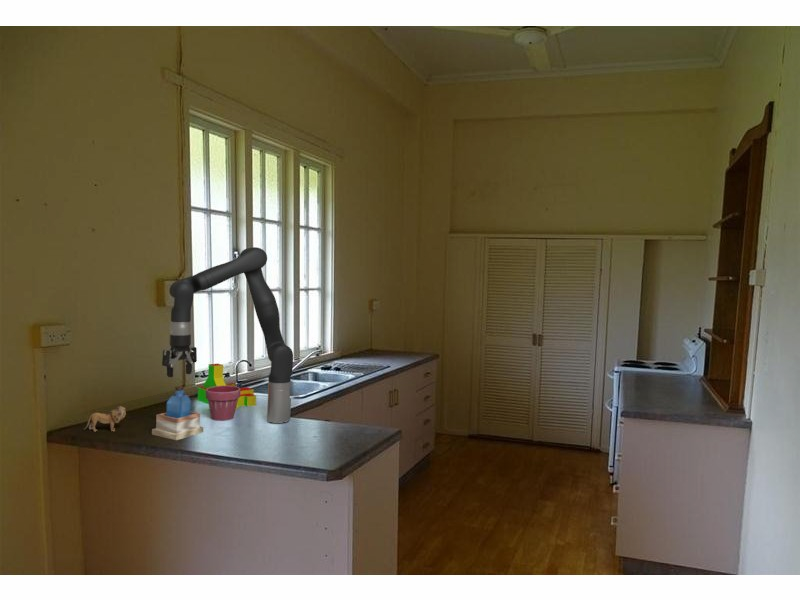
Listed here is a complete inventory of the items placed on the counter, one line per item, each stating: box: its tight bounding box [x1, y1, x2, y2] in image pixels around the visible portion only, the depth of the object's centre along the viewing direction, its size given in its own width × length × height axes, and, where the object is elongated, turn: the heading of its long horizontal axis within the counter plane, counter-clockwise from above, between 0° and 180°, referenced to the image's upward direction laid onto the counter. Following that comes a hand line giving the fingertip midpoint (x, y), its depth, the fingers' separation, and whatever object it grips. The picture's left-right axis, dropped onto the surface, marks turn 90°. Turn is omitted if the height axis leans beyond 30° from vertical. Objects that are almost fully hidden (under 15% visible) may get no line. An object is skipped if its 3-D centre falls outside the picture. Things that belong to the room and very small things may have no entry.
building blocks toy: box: [197, 363, 257, 409], centre depth 262 cm, size 19×25×18 cm
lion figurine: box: [82, 406, 127, 433], centre depth 209 cm, size 15×5×9 cm, turn 109°
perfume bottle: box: [166, 385, 192, 418], centre depth 209 cm, size 6×6×12 cm
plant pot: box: [206, 385, 241, 421], centre depth 234 cm, size 14×14×13 cm
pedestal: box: [151, 411, 204, 441], centre depth 209 cm, size 13×13×8 cm
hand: (179, 375), depth 208 cm, fingers open, 8 cm apart
